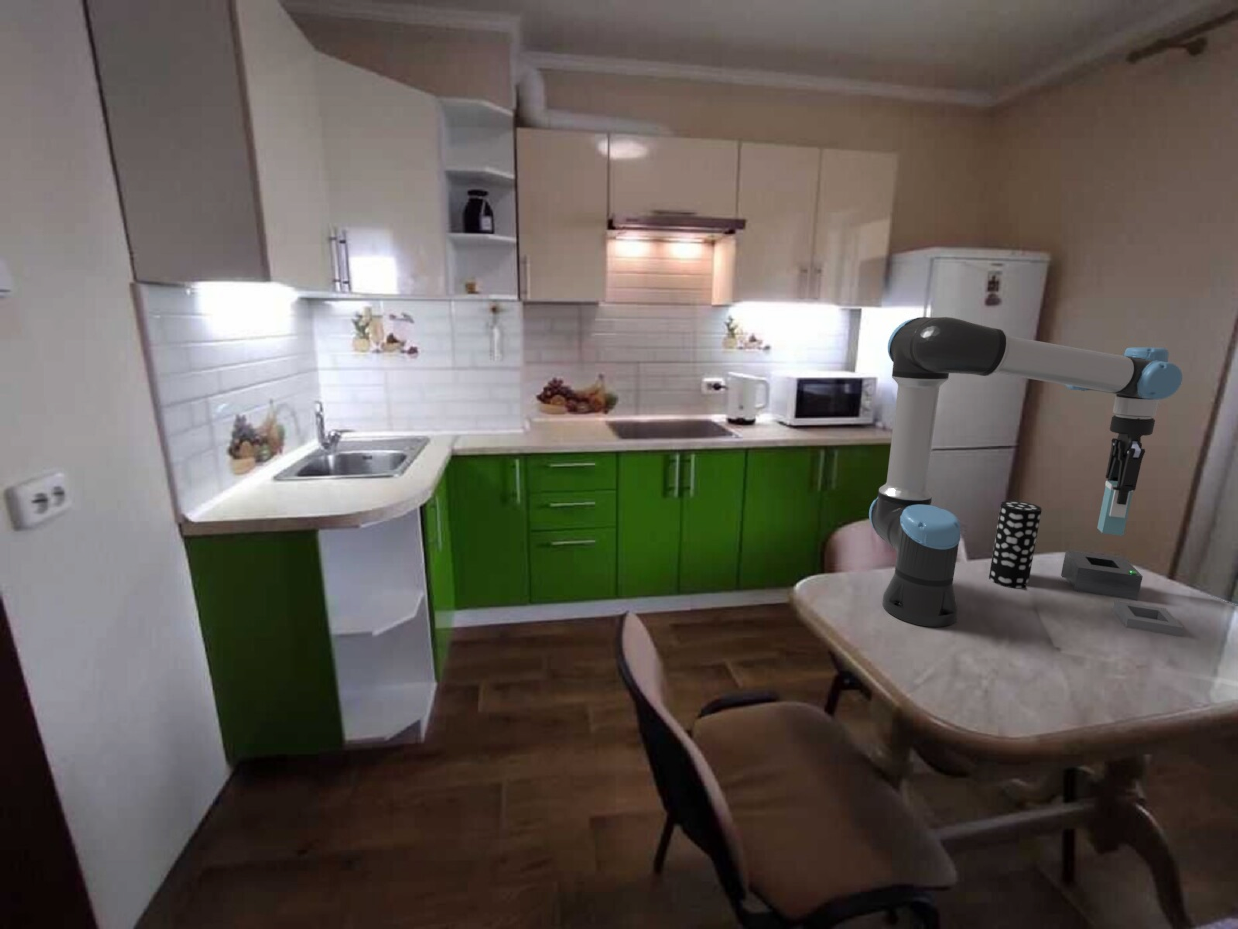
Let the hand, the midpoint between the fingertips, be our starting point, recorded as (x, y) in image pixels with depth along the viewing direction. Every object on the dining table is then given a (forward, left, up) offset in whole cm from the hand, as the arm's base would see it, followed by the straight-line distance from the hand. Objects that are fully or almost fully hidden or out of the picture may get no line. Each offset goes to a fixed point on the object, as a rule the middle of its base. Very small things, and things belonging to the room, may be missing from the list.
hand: (1113, 513), depth 139 cm
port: (0, 0, -20) cm, 20 cm away
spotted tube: (-19, -4, -20) cm, 28 cm away
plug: (0, 0, -5) cm, 5 cm away
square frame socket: (+4, -18, -20) cm, 27 cm away
